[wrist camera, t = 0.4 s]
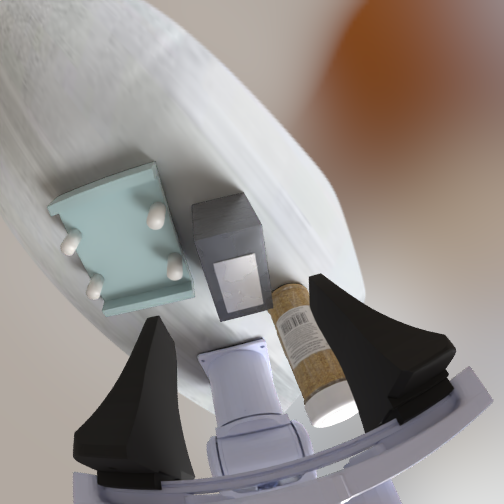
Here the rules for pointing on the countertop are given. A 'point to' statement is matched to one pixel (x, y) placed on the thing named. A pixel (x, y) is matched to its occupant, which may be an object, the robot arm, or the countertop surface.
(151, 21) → the countertop surface
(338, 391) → the sprinkles bottle
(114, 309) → the tray
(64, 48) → the countertop surface
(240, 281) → the dark grey block
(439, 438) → the robot arm
